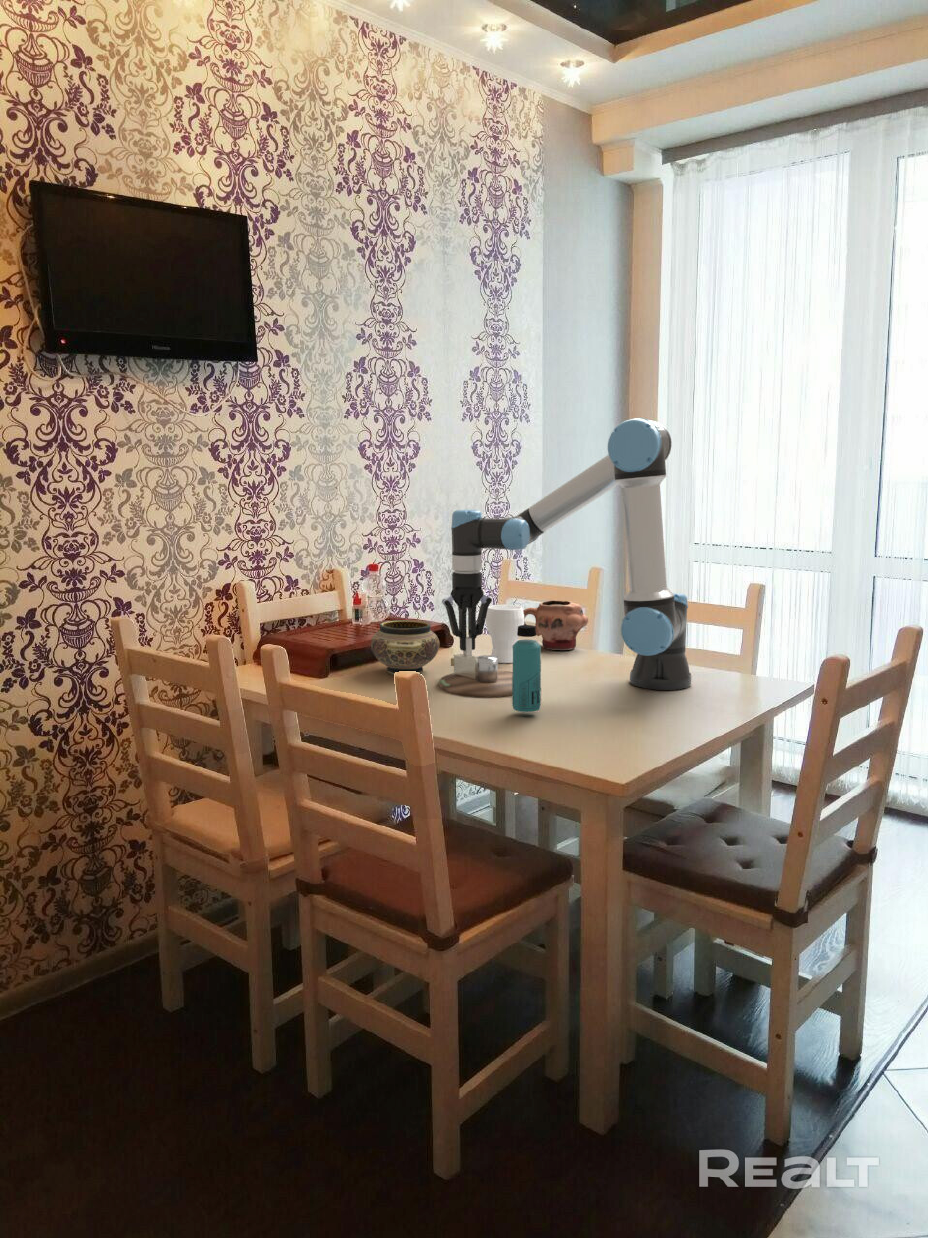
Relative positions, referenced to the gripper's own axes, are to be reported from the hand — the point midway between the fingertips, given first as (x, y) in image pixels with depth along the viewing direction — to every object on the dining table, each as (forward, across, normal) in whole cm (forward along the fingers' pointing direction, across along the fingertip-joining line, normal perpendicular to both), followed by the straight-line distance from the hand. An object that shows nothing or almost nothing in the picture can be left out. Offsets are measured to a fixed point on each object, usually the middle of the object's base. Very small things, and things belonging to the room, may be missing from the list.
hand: (467, 662), depth 240 cm
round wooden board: (+4, -2, +9) cm, 10 cm away
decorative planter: (+5, -36, -26) cm, 44 cm away
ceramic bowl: (+4, +14, -11) cm, 18 cm away
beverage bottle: (+4, -1, +37) cm, 37 cm away
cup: (+4, -16, -15) cm, 23 cm away
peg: (+3, 0, +5) cm, 6 cm away
